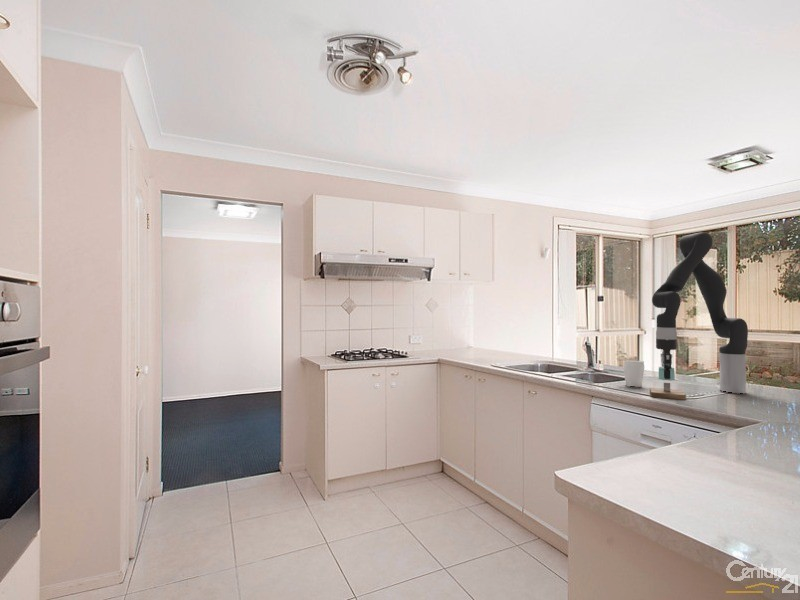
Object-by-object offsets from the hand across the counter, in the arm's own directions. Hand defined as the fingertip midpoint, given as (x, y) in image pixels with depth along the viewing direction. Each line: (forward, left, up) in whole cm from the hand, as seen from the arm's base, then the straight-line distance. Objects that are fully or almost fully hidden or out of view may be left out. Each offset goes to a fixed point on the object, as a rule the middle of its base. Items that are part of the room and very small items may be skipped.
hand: (666, 377), depth 177 cm
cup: (-21, -12, -8) cm, 26 cm away
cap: (0, 0, -1) cm, 1 cm away
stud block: (0, 0, -8) cm, 8 cm away
